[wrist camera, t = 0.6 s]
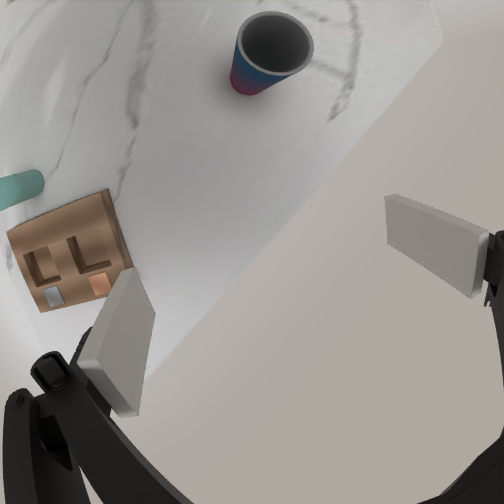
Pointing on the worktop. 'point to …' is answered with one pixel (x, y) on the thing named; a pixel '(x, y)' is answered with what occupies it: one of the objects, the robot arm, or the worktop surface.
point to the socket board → (71, 252)
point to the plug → (20, 188)
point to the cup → (269, 51)
